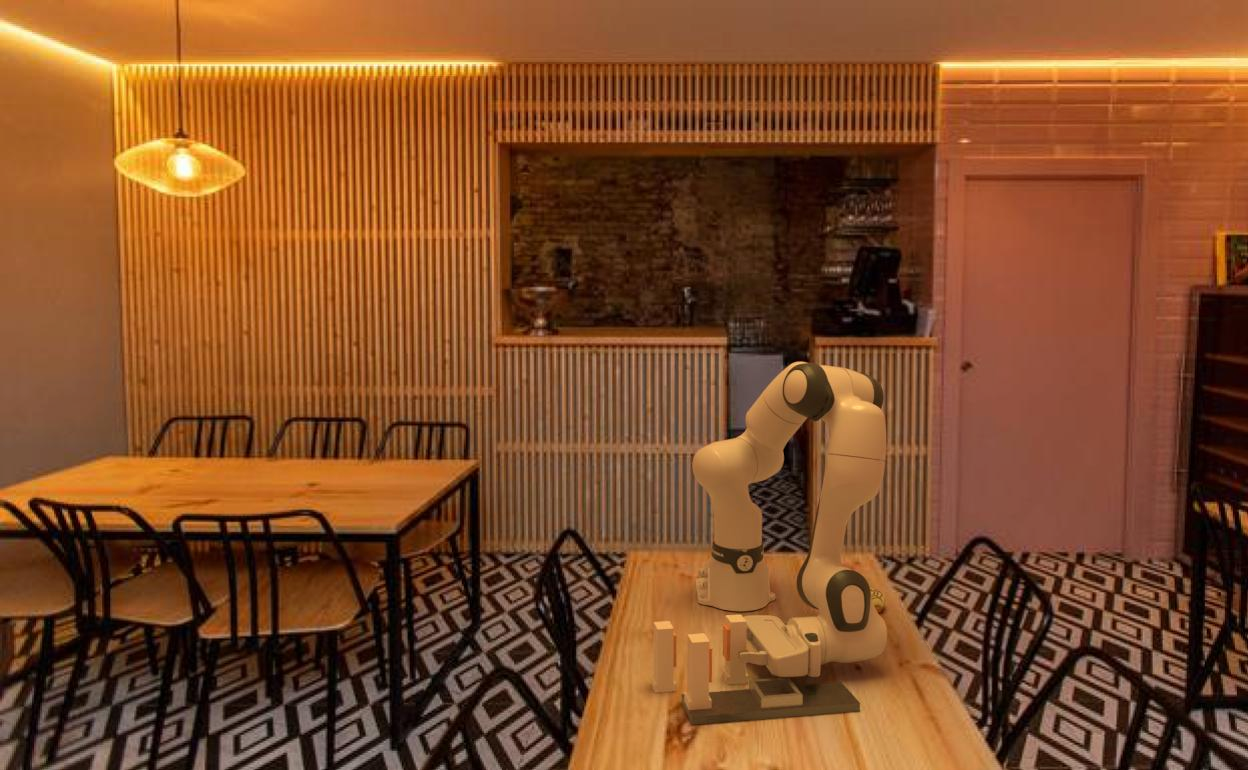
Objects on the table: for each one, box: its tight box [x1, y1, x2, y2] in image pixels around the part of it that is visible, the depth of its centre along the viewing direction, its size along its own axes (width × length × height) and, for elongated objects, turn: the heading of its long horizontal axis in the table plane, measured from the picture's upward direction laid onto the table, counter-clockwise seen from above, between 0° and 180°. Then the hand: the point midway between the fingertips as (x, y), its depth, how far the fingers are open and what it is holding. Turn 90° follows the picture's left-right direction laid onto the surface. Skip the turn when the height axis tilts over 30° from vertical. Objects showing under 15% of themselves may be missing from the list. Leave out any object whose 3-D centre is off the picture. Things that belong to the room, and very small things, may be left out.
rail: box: [680, 677, 861, 726], centre depth 147 cm, size 8×30×4 cm, turn 99°
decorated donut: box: [869, 586, 886, 614], centre depth 193 cm, size 11×12×4 cm
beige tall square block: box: [721, 614, 749, 686], centre depth 156 cm, size 4×4×12 cm
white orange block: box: [650, 620, 677, 694], centre depth 153 cm, size 4×4×12 cm
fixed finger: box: [683, 632, 713, 710], centre depth 144 cm, size 4×4×12 cm
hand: (731, 646), depth 156 cm, fingers open, 8 cm apart
